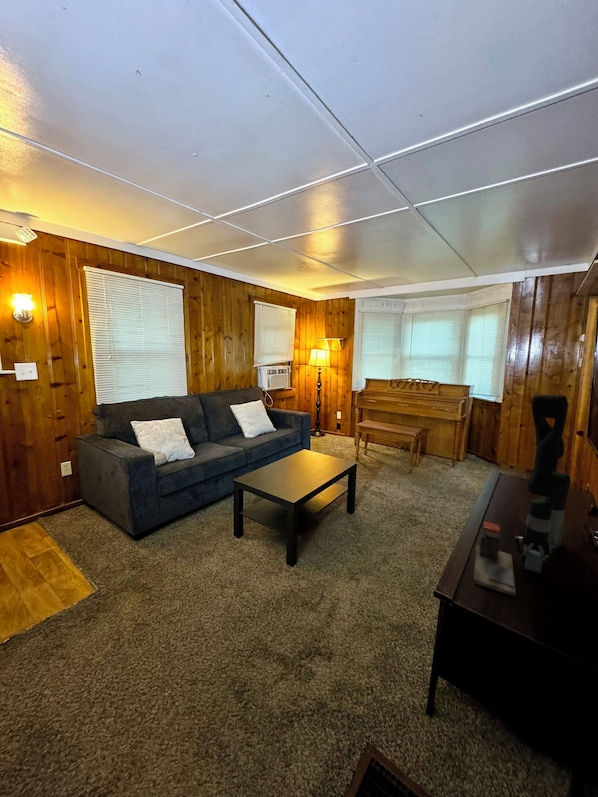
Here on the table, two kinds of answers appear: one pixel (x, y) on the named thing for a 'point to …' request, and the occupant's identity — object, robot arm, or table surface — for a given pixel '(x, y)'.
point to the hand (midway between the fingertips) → (532, 564)
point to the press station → (494, 566)
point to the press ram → (491, 530)
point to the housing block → (533, 561)
